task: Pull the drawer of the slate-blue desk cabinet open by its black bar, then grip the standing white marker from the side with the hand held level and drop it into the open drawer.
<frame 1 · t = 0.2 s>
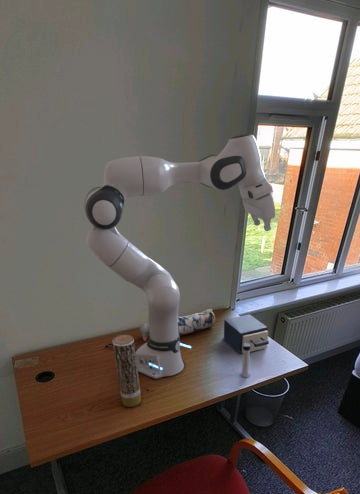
hand: (262, 227, 125), 51 cm above the table, tool tilted 20°, fingers open, 8 cm apart
cabinet: (244, 343, 159), on the table
pencil case: (192, 331, 172), on the table
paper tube: (131, 402, 126), on the table
marker: (245, 375, 137), on the table
dog figurine: (154, 337, 168), on the table
drawer: (250, 338, 153), point 5 cm above the table, slide at 0.5 cm
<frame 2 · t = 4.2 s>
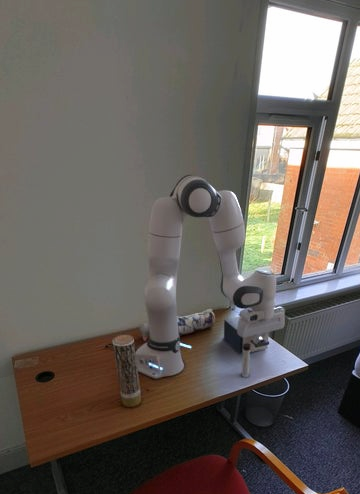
hand: (260, 341, 146), 7 cm above the table, tool pointing down, fingers closed
drawer: (250, 338, 153), point 5 cm above the table, slide at 0.9 cm, touching gripper
everything else where it was.
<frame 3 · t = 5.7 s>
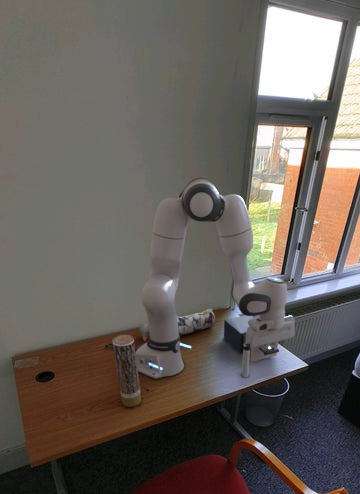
hand: (269, 351, 141), 6 cm above the table, tool pointing down, fingers closed, pressing on drawer
drawer: (259, 345, 147), point 5 cm above the table, slide at 7.7 cm, touching gripper
everything else where it was.
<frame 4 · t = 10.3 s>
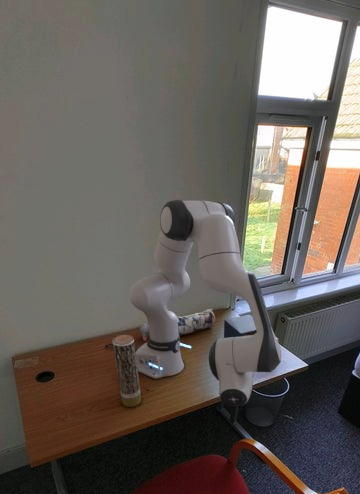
hand: (244, 345, 117), 20 cm above the table, tool horizontal, fingers closed
drawer: (259, 345, 147), point 5 cm above the table, slide at 7.7 cm
everything else where it was.
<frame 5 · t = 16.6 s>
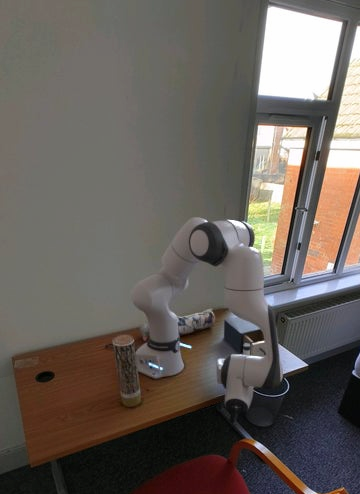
hand: (246, 357, 134), 7 cm above the table, tool horizontal, fingers closed on marker, 2 cm apart
marker: (245, 375, 137), on the table, touching gripper
everything else where it was.
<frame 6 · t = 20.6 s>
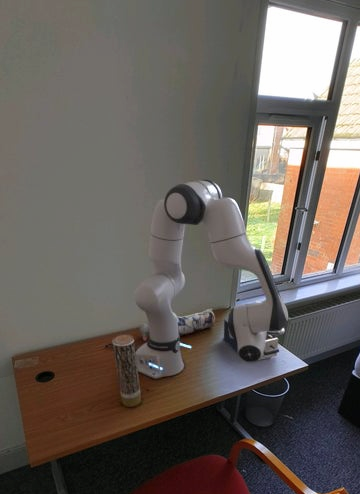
hand: (257, 315, 137), 20 cm above the table, tool horizontal, fingers closed on marker, 2 cm apart
marker: (255, 333, 140), point 13 cm above the table, touching gripper
everything else where it was.
when the fingers open (10 cm above the table, at t = 24.5 s): marker stays where it is, resting on drawer.
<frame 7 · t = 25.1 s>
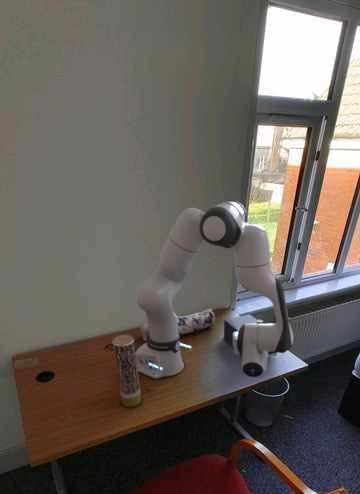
hand: (259, 331, 146), 10 cm above the table, tool horizontal, fingers open, 7 cm apart
marker: (257, 350, 149), point 2 cm above the table, touching drawer
drawer: (259, 345, 147), point 5 cm above the table, slide at 7.7 cm, touching marker
everything else where it was.
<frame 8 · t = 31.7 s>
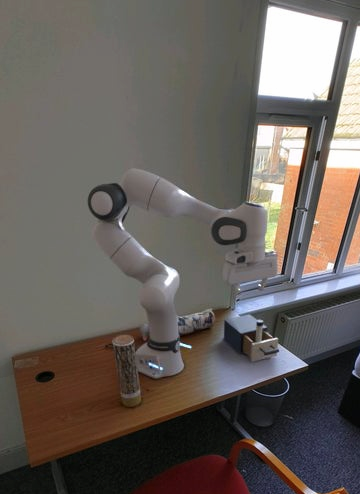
hand: (249, 292, 128), 31 cm above the table, tool pointing down, fingers open, 8 cm apart
nothing on the table moved.
at the end: drawer slide at 7.7 cm; marker inside the target area in the drawer (0.0 cm from its centre), point 2.1 cm above the cabinet's base; the gripper is holding nothing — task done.
